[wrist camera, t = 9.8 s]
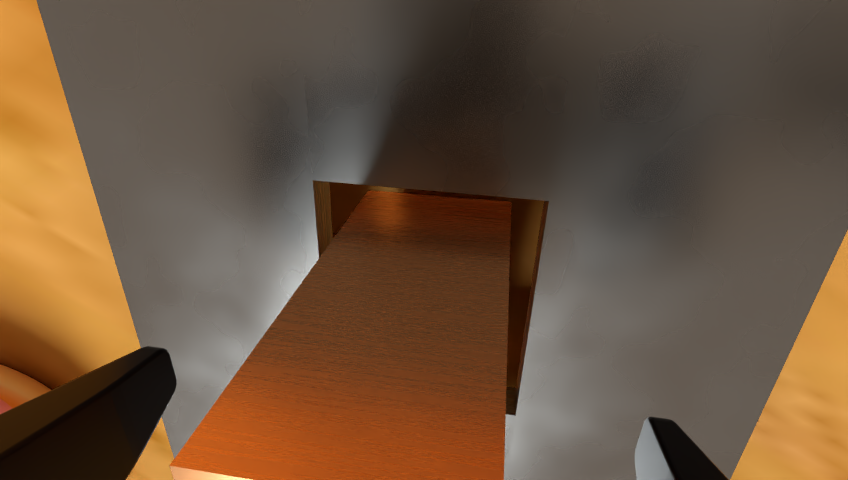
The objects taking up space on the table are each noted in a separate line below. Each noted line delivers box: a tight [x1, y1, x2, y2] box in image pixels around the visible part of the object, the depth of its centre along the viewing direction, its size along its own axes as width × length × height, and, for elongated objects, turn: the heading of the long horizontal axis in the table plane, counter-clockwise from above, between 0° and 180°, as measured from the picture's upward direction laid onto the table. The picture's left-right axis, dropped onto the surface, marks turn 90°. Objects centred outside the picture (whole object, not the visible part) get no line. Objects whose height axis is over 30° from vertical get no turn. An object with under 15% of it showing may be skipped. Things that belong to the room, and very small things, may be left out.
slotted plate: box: [37, 0, 848, 480], centre depth 13 cm, size 16×16×3 cm
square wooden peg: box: [170, 190, 511, 480], centre depth 10 cm, size 4×4×10 cm
